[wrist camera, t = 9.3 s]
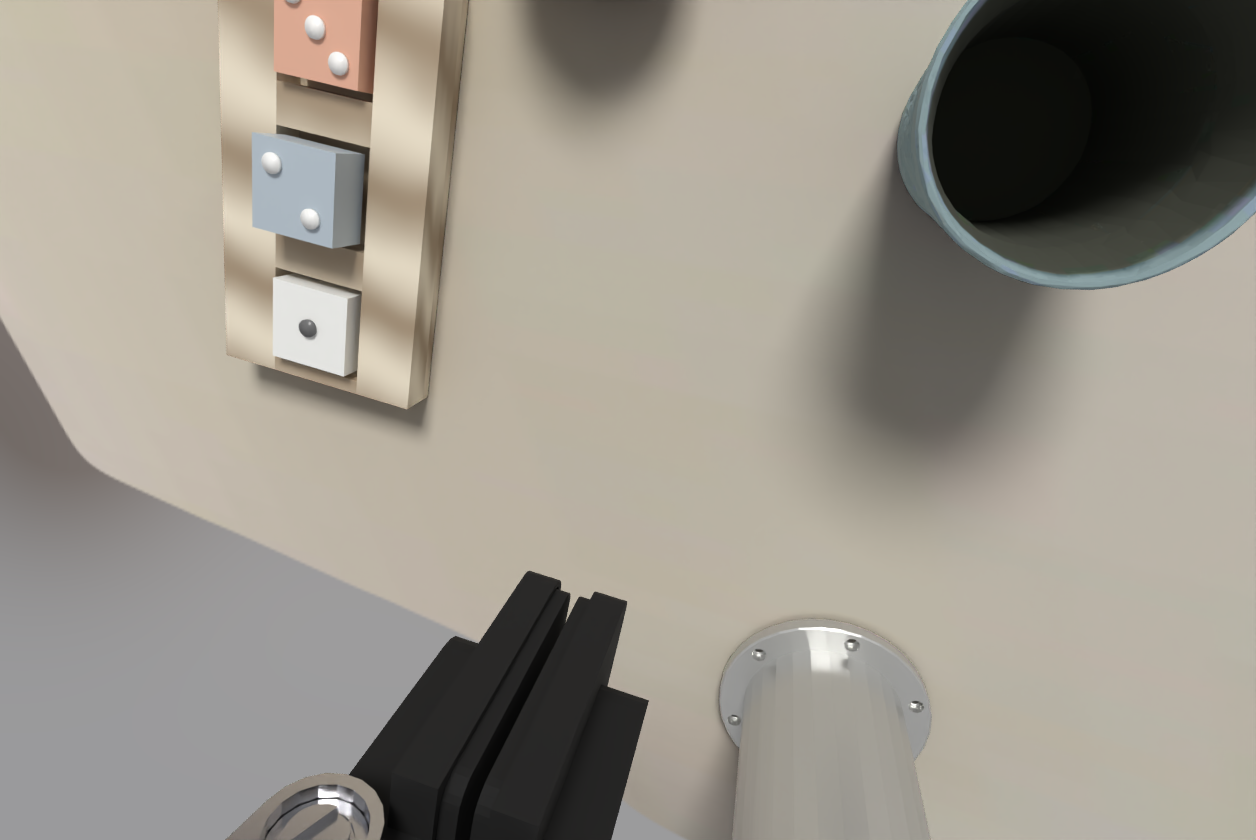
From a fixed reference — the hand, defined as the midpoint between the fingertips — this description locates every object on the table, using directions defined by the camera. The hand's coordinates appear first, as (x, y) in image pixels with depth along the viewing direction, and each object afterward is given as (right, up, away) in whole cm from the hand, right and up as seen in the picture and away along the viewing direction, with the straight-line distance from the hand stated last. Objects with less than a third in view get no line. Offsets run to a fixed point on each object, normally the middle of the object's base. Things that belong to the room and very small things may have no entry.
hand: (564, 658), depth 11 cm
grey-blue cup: (+17, +17, +19) cm, 31 cm away
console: (-15, +17, +27) cm, 35 cm away
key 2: (-15, +16, +25) cm, 33 cm away
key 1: (-16, +10, +29) cm, 35 cm away
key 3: (-13, +23, +23) cm, 35 cm away
